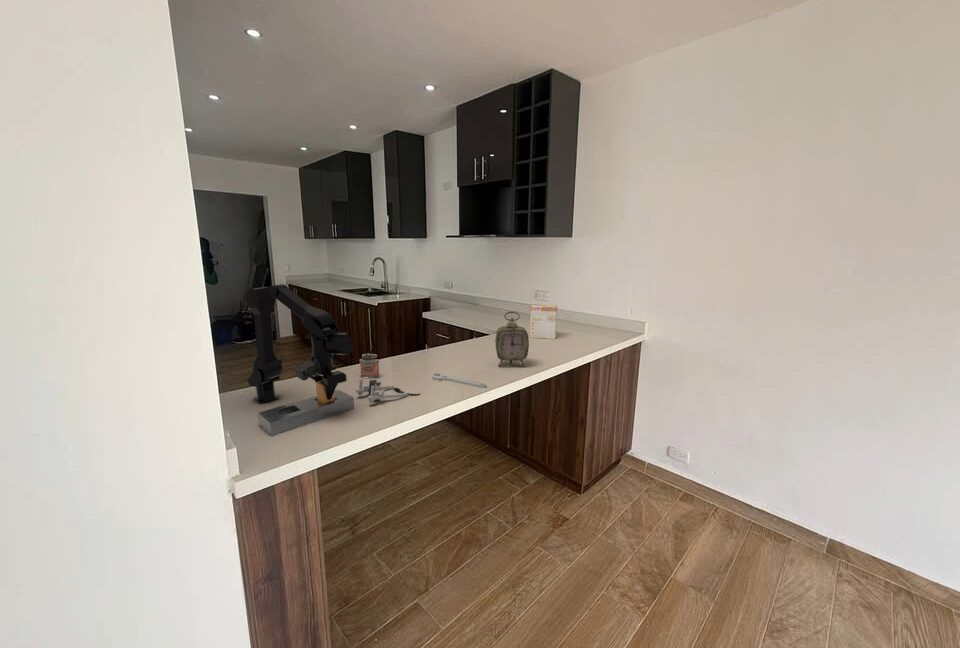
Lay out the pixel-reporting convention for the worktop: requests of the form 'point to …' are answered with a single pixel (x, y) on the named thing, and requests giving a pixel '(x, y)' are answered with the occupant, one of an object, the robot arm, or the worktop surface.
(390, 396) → the bike brake
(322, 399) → the square peg
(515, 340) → the tabletop clock
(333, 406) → the block with square holes
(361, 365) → the red labelled jar
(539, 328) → the coffeecake box
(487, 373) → the worktop surface
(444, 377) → the adjustable wrench
